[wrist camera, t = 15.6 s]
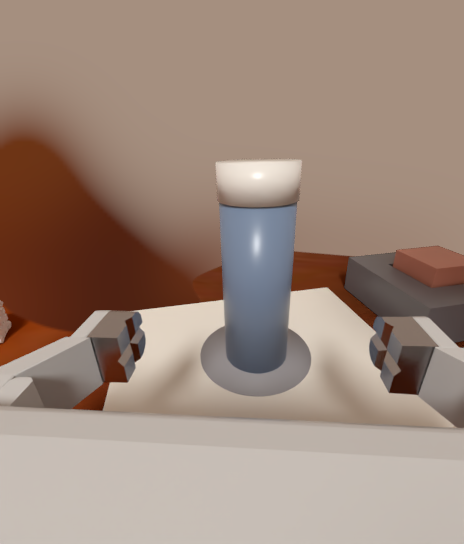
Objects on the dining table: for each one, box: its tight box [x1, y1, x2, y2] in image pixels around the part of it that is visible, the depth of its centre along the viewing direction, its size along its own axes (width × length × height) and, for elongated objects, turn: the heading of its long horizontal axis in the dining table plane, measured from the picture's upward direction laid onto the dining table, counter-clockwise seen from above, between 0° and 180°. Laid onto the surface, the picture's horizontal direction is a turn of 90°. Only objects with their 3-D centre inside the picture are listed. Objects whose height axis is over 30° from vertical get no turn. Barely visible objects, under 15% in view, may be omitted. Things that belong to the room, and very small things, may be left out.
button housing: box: [344, 252, 464, 343], centre depth 25 cm, size 10×10×4 cm
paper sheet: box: [103, 288, 457, 428], centre depth 21 cm, size 20×16×1 cm
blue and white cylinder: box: [216, 159, 302, 374], centre depth 18 cm, size 5×5×13 cm
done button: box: [393, 246, 464, 288], centre depth 25 cm, size 4×4×3 cm
